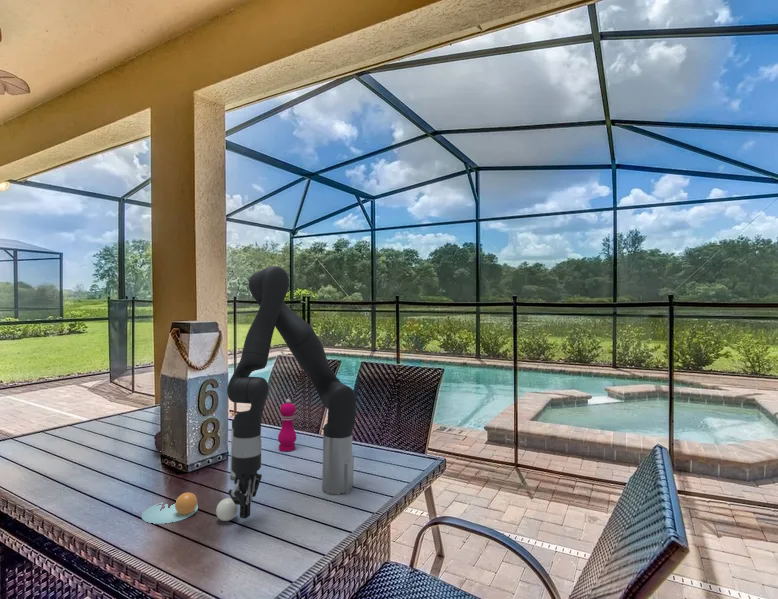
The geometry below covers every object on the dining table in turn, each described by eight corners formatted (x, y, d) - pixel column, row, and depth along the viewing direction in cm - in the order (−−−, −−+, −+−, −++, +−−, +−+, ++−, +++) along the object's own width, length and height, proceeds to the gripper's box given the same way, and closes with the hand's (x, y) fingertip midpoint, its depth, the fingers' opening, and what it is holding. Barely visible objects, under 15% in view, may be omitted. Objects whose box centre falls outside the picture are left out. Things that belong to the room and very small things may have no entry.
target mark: (208, 503, 127) (208, 502, 127) (174, 527, 114) (174, 526, 114) (167, 497, 131) (167, 497, 131) (129, 520, 117) (129, 519, 117)
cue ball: (229, 490, 121) (220, 507, 122) (217, 499, 116) (208, 517, 116) (245, 501, 120) (236, 519, 121) (234, 511, 115) (225, 529, 115)
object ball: (191, 485, 124) (181, 499, 125) (177, 493, 119) (166, 508, 119) (205, 498, 123) (194, 513, 124) (191, 507, 117) (180, 522, 118)
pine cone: (144, 452, 169) (145, 426, 169) (170, 445, 177) (171, 421, 177) (167, 463, 158) (167, 435, 158) (193, 455, 166) (194, 429, 166)
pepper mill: (280, 453, 171) (281, 401, 171) (275, 447, 178) (276, 398, 178) (298, 450, 174) (299, 400, 175) (293, 445, 181) (294, 396, 181)
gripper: (245, 461, 110) (244, 531, 110) (271, 445, 123) (270, 507, 122) (219, 458, 111) (217, 527, 111) (247, 442, 124) (245, 504, 124)
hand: (245, 516), depth 117 cm, fingers closed
